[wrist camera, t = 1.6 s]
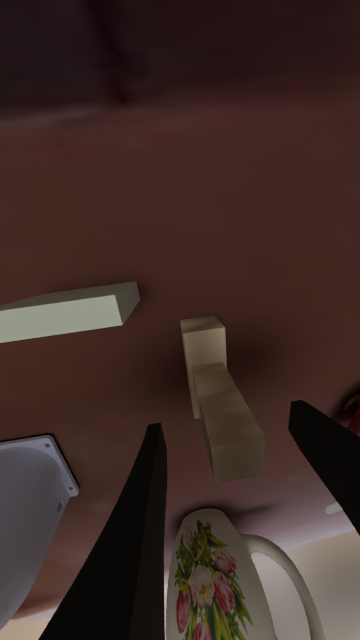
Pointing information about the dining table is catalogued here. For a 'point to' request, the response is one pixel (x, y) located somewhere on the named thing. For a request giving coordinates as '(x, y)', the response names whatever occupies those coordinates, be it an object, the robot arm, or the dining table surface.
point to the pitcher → (224, 583)
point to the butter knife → (333, 508)
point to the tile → (68, 311)
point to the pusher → (220, 403)
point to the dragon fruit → (356, 425)
